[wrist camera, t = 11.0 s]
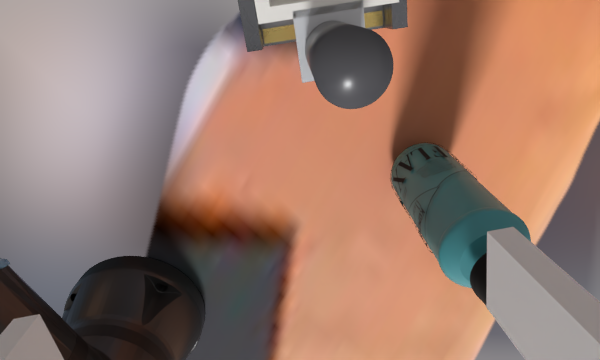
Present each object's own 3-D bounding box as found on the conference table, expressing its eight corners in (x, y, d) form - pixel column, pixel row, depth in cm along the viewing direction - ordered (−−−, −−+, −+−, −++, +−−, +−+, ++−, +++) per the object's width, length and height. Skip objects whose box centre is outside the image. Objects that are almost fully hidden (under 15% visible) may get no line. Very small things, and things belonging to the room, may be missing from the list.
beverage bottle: (433, 124, 40) (561, 225, 21) (457, 177, 42) (591, 310, 24) (374, 155, 41) (446, 277, 22) (400, 206, 43) (485, 354, 25)
